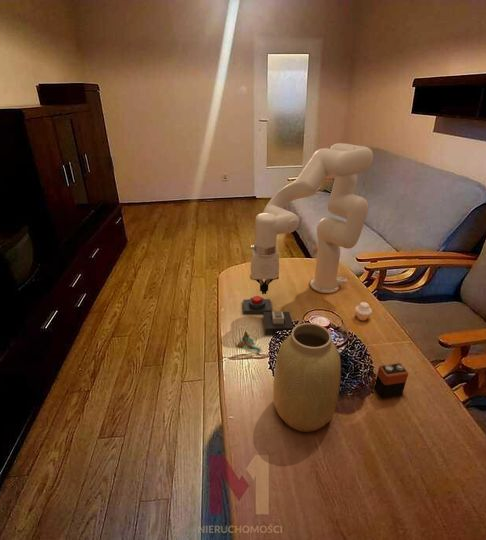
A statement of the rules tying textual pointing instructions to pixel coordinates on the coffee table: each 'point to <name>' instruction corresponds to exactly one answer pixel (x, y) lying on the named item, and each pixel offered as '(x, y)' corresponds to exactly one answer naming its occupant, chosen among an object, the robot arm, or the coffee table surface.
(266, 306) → the switch block
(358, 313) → the cream rounded piece
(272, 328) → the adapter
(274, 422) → the coffee table surface
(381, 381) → the battery
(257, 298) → the power button
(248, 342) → the dragon figurine
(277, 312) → the charger
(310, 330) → the vase
